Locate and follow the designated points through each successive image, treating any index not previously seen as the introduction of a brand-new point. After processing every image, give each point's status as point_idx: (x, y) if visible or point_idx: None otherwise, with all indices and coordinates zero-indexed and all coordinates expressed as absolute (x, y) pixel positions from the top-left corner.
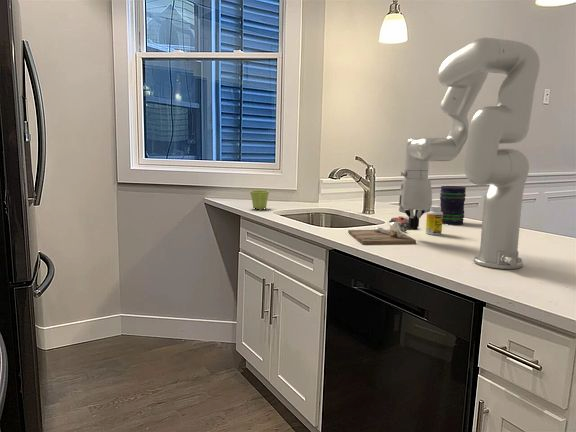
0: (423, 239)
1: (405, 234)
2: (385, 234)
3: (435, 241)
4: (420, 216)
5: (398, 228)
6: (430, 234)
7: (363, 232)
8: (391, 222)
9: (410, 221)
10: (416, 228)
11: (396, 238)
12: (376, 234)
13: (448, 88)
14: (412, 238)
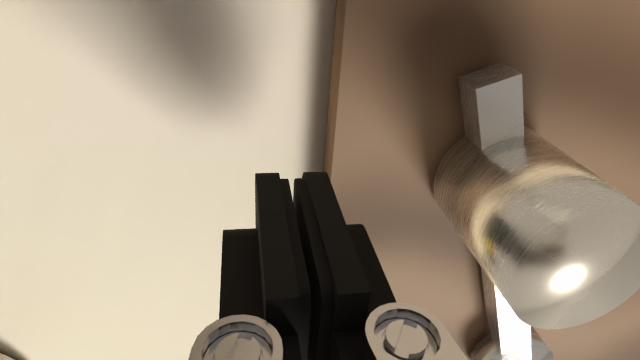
0: (147, 166)
1: None
2: None
3: (10, 45)
4: (196, 357)
5: (546, 170)
6: (7, 356)
7: (626, 316)
8: (619, 291)
9: (384, 280)
10: (273, 180)
11: (537, 60)
12: None
13: None
14: (348, 45)
